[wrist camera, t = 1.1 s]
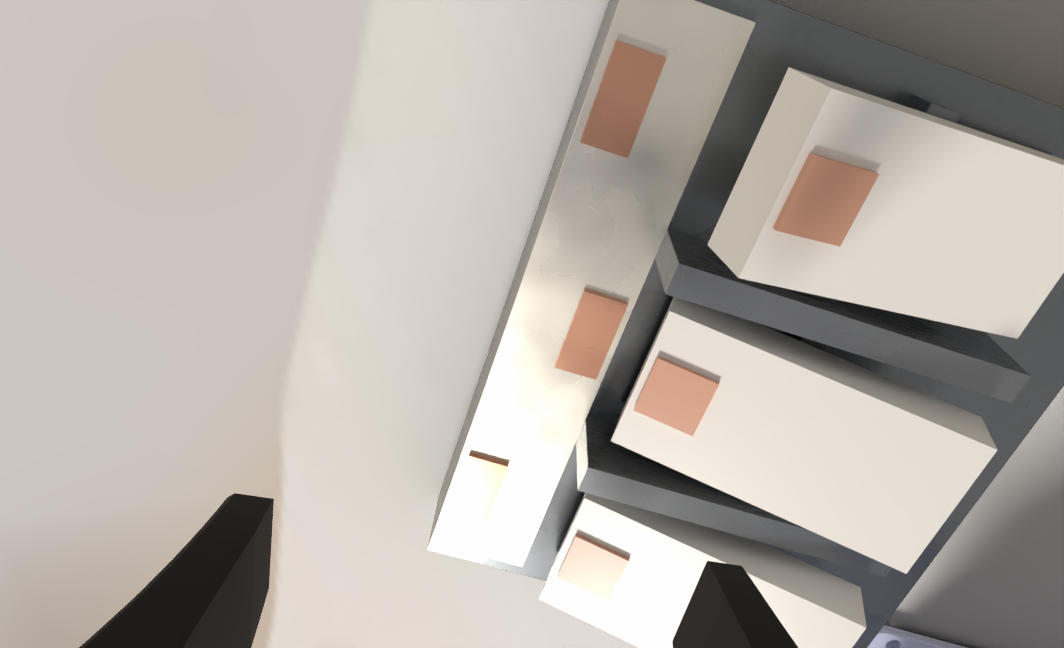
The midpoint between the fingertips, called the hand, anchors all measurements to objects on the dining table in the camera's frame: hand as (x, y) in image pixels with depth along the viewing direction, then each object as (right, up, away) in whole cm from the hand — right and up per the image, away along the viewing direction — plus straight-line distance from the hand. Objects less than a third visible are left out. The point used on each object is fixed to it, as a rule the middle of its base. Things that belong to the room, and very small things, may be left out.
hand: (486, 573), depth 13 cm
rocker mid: (+7, +1, +7) cm, 10 cm away
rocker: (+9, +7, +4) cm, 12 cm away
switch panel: (+7, +4, +11) cm, 14 cm away
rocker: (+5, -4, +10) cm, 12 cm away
